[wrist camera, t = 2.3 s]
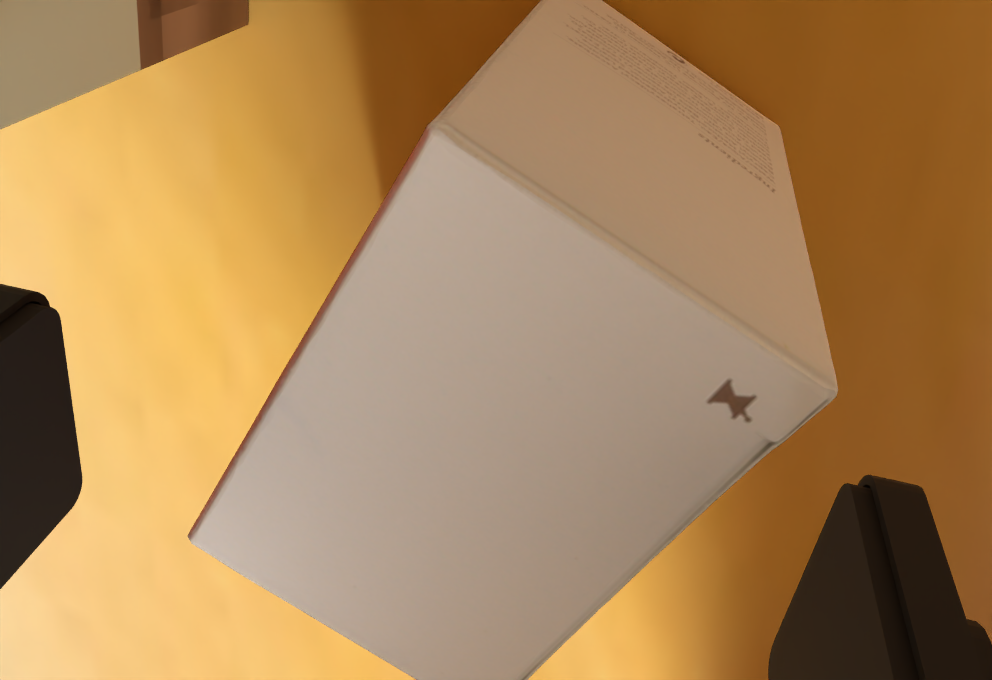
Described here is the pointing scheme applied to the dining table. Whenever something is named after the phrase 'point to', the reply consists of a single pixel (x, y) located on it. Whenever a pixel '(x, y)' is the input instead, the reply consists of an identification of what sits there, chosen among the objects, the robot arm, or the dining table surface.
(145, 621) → the dining table surface
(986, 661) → the robot arm
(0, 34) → the upper crate
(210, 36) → the lower crate
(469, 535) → the small box
